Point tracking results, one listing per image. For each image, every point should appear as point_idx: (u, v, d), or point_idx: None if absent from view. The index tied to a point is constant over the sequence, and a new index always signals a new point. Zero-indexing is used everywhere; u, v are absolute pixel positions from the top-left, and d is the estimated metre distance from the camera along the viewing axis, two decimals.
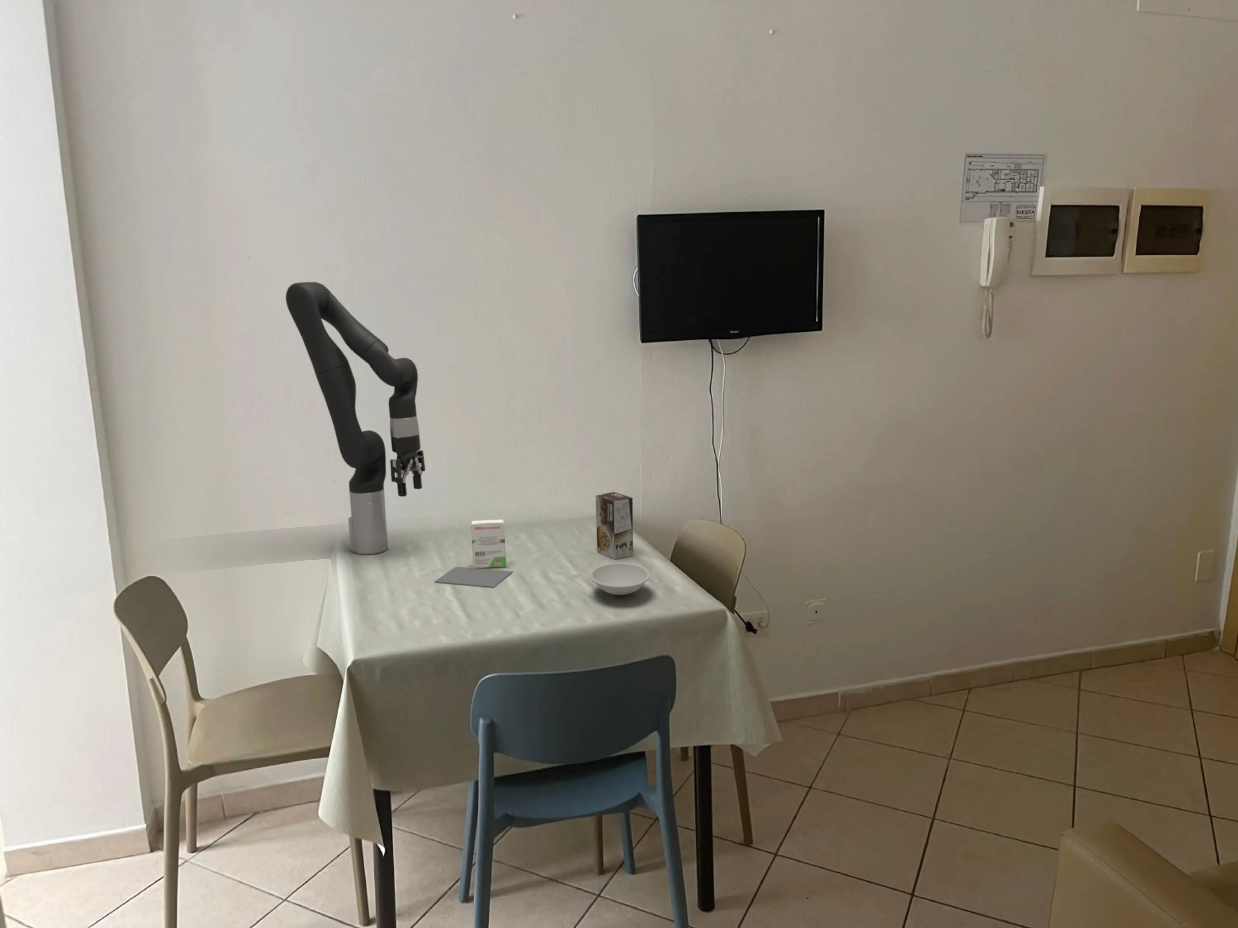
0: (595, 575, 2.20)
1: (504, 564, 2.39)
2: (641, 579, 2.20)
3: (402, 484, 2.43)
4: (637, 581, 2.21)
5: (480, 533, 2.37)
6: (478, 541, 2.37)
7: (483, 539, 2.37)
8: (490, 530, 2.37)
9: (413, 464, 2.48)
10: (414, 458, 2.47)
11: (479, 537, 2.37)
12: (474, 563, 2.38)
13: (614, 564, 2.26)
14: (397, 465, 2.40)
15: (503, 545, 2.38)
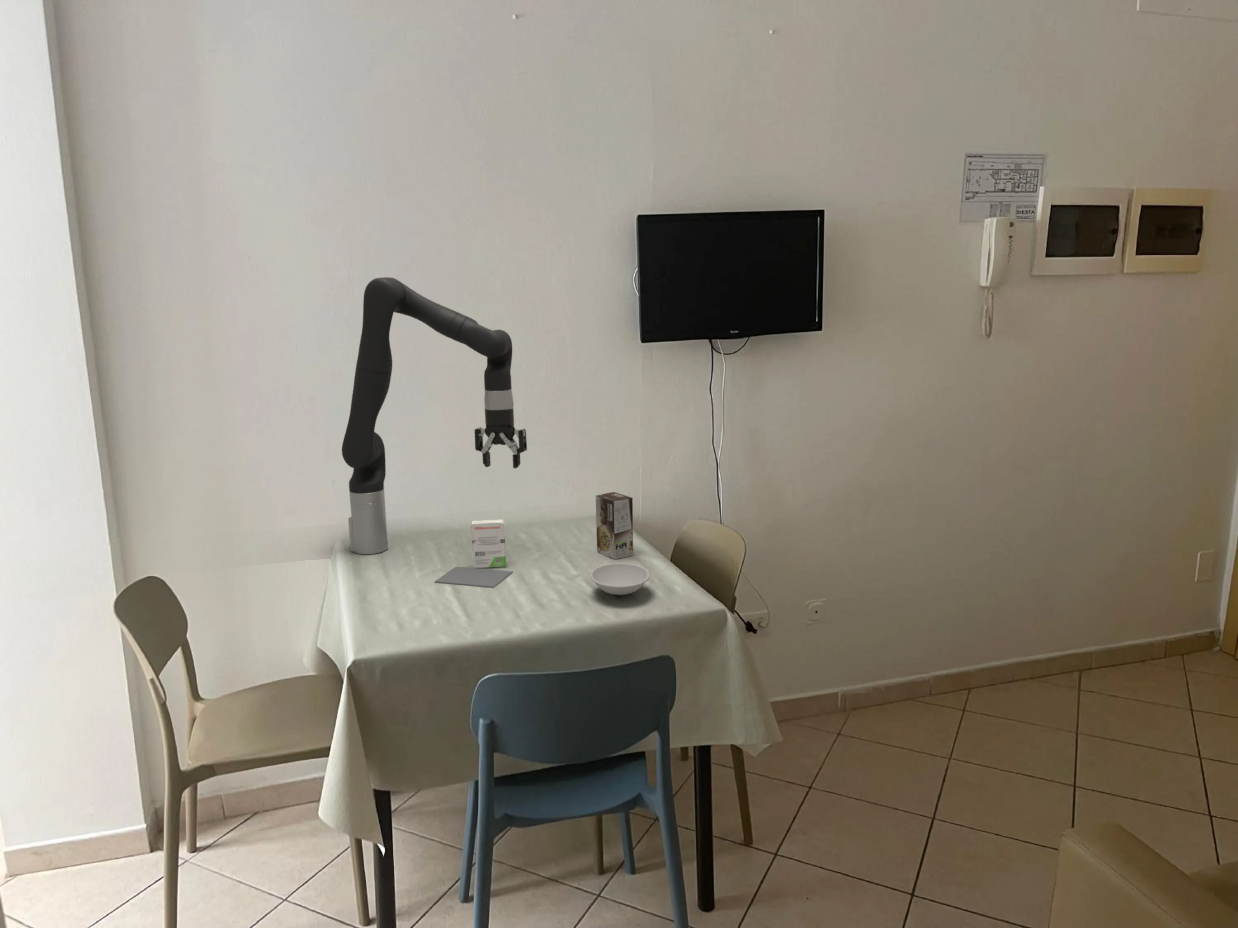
0: (595, 575, 2.20)
1: (504, 564, 2.39)
2: (641, 579, 2.20)
3: None
4: (637, 581, 2.21)
5: (480, 533, 2.37)
6: (478, 541, 2.37)
7: (483, 539, 2.37)
8: (490, 530, 2.37)
9: None
10: None
11: (479, 537, 2.37)
12: (474, 563, 2.38)
13: (614, 564, 2.26)
14: (525, 434, 2.43)
15: (503, 545, 2.38)
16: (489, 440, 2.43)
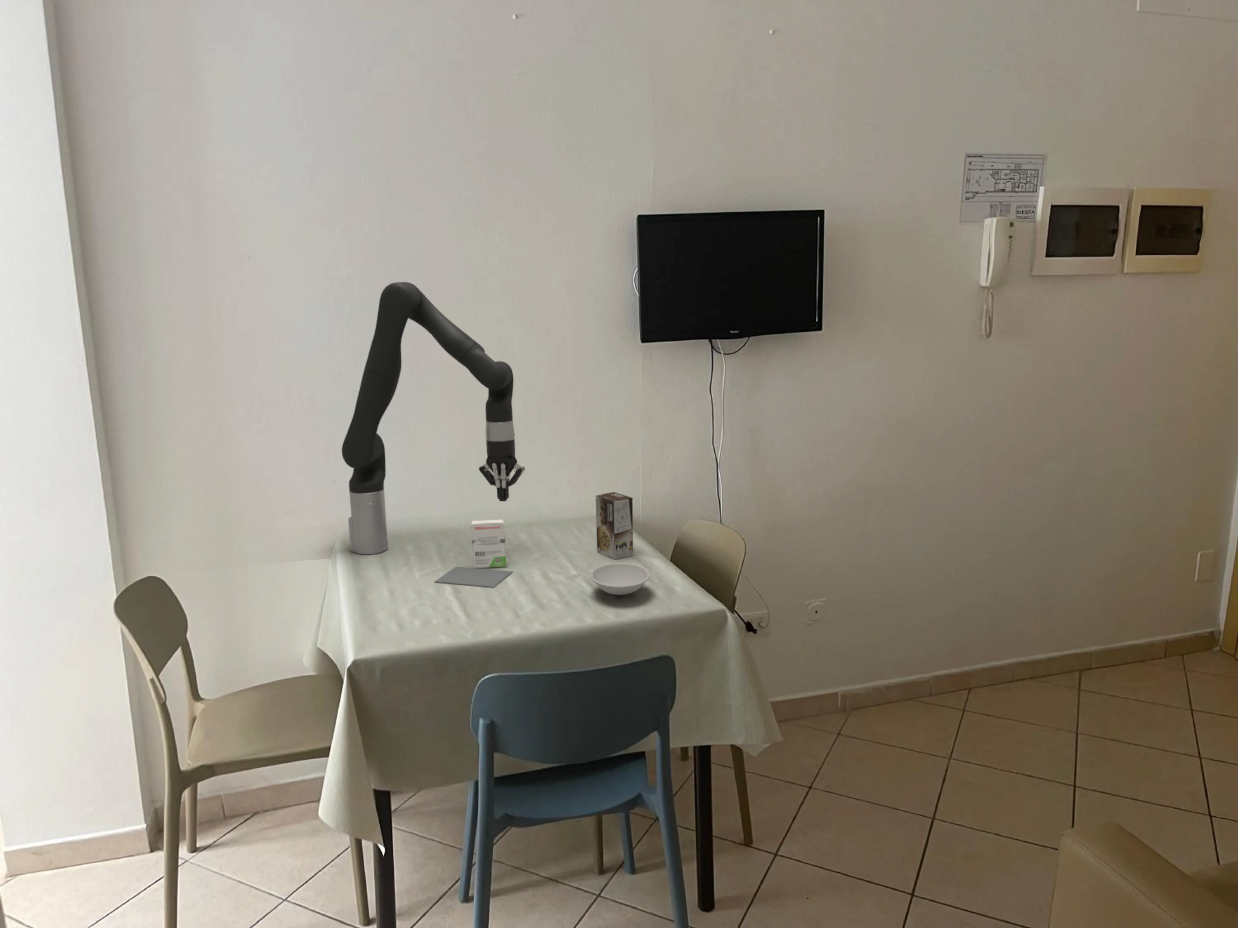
0: (595, 575, 2.20)
1: (504, 564, 2.39)
2: (641, 579, 2.20)
3: None
4: (637, 581, 2.21)
5: (480, 533, 2.37)
6: (478, 541, 2.37)
7: (483, 539, 2.37)
8: (490, 530, 2.37)
9: None
10: None
11: (479, 537, 2.37)
12: (474, 563, 2.38)
13: (614, 564, 2.26)
14: (522, 472, 2.45)
15: (503, 545, 2.38)
16: (495, 472, 2.45)
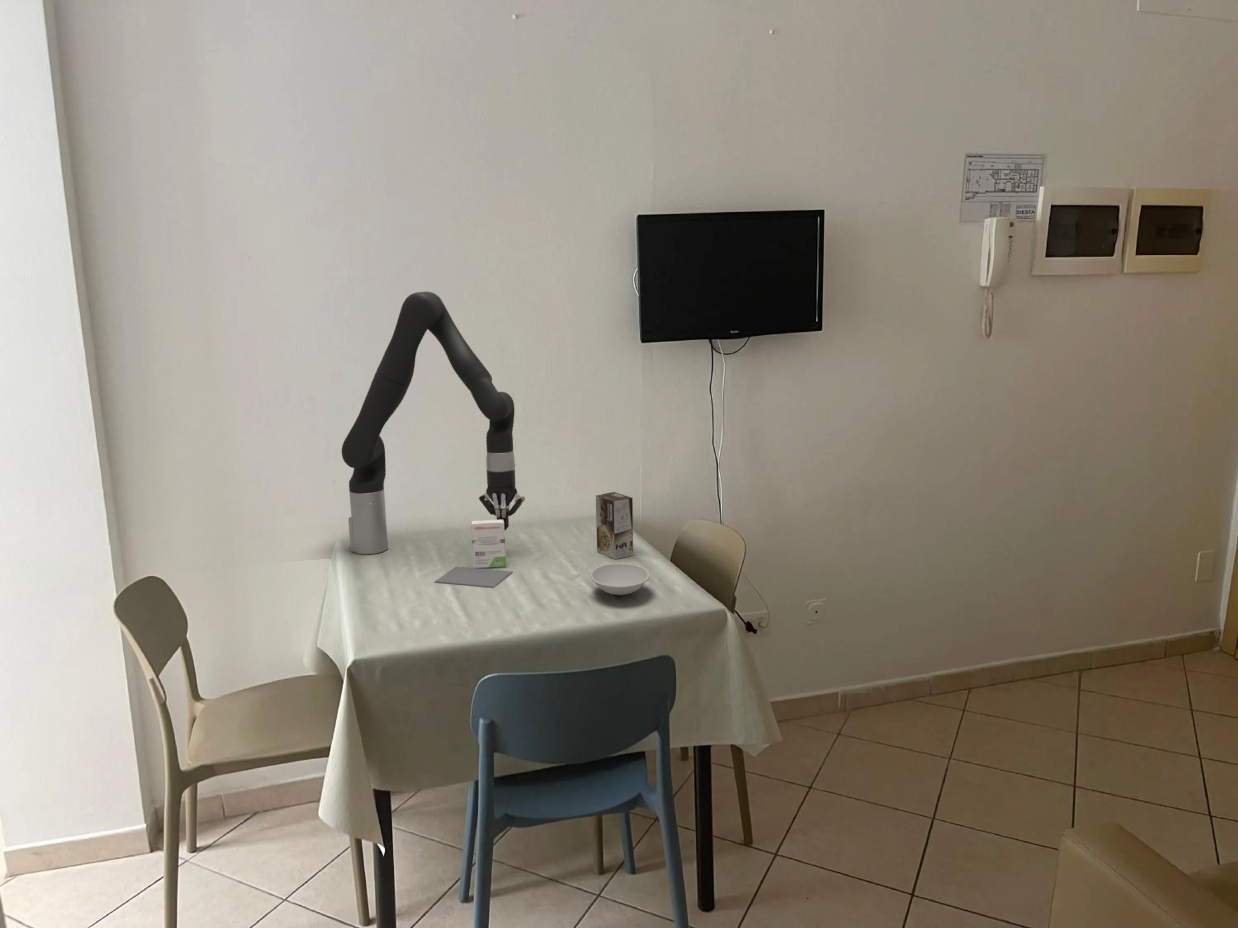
0: (595, 575, 2.20)
1: (504, 564, 2.39)
2: (641, 579, 2.20)
3: None
4: (637, 581, 2.21)
5: (480, 533, 2.37)
6: (478, 541, 2.37)
7: (483, 539, 2.37)
8: (490, 530, 2.37)
9: None
10: None
11: (479, 537, 2.37)
12: (474, 563, 2.38)
13: (614, 564, 2.26)
14: (522, 502, 2.47)
15: (503, 545, 2.38)
16: (495, 502, 2.46)
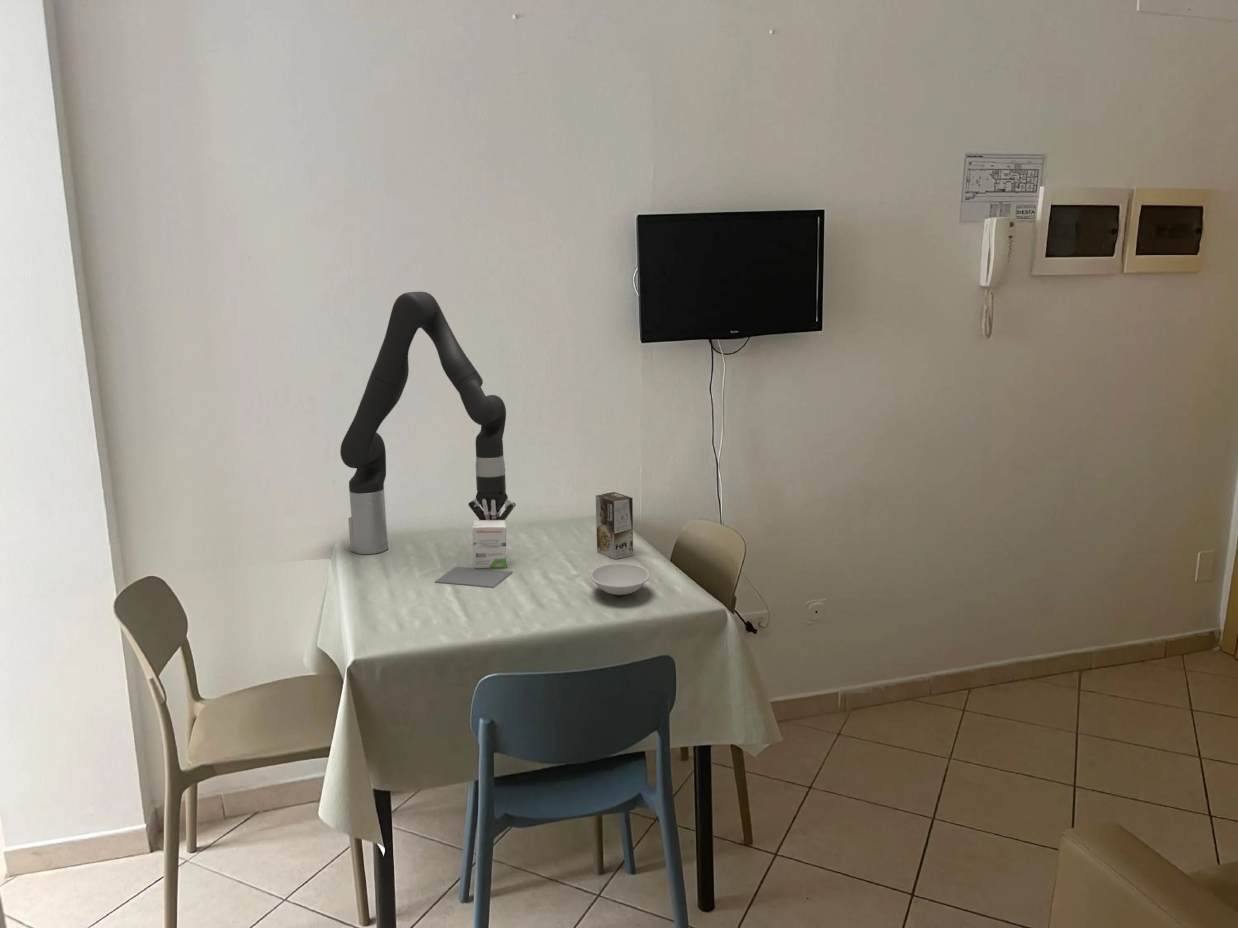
0: (595, 575, 2.20)
1: (504, 565, 2.39)
2: (641, 579, 2.20)
3: None
4: (637, 581, 2.21)
5: (481, 536, 2.35)
6: (479, 543, 2.36)
7: (484, 542, 2.36)
8: (492, 534, 2.35)
9: None
10: None
11: (480, 540, 2.35)
12: (474, 563, 2.38)
13: (614, 564, 2.26)
14: (512, 508, 2.40)
15: (504, 548, 2.37)
16: (485, 508, 2.39)
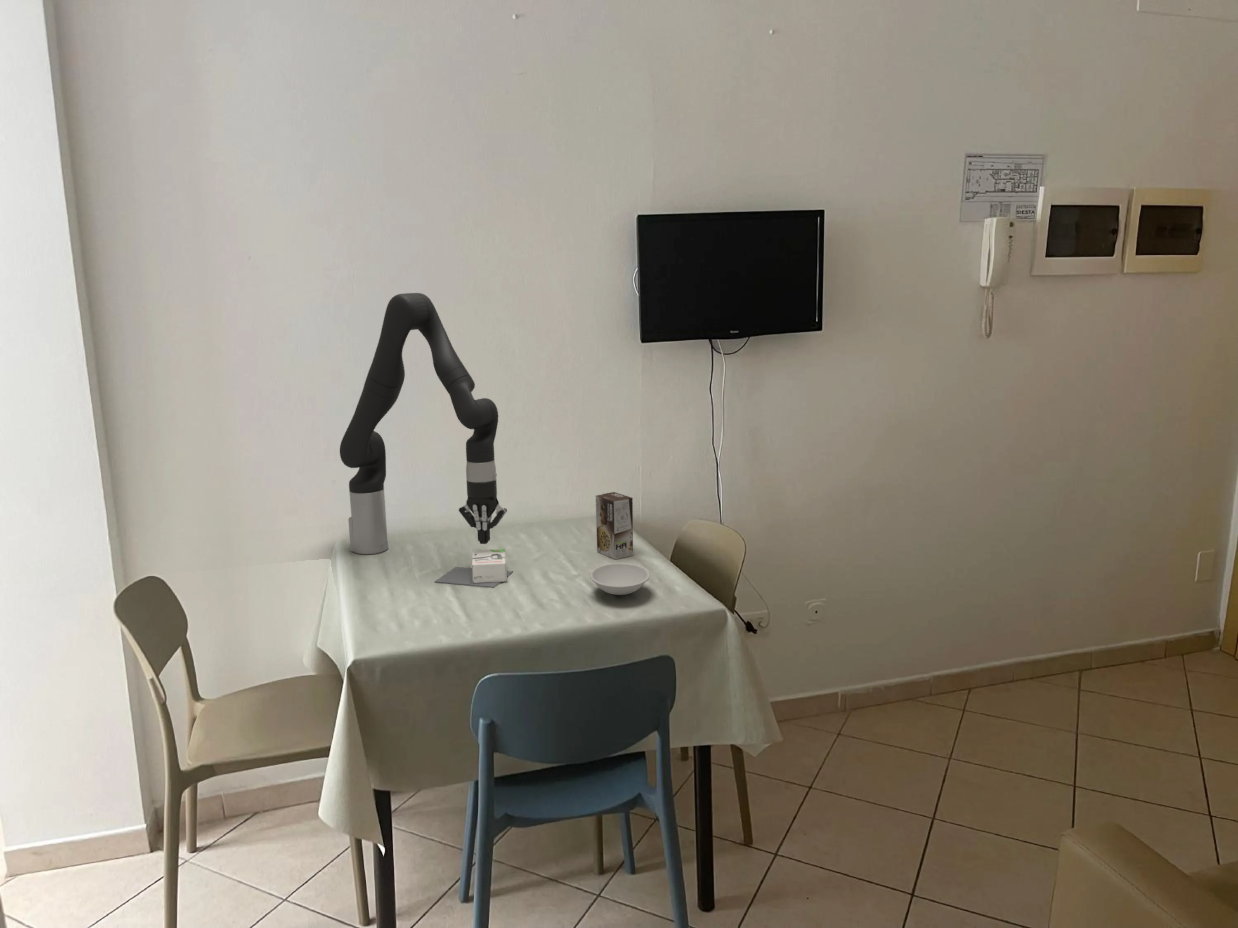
0: (595, 575, 2.20)
1: None
2: (641, 579, 2.20)
3: None
4: (637, 581, 2.21)
5: None
6: None
7: None
8: None
9: None
10: None
11: None
12: None
13: (614, 564, 2.26)
14: (504, 514, 2.35)
15: None
16: (476, 514, 2.34)
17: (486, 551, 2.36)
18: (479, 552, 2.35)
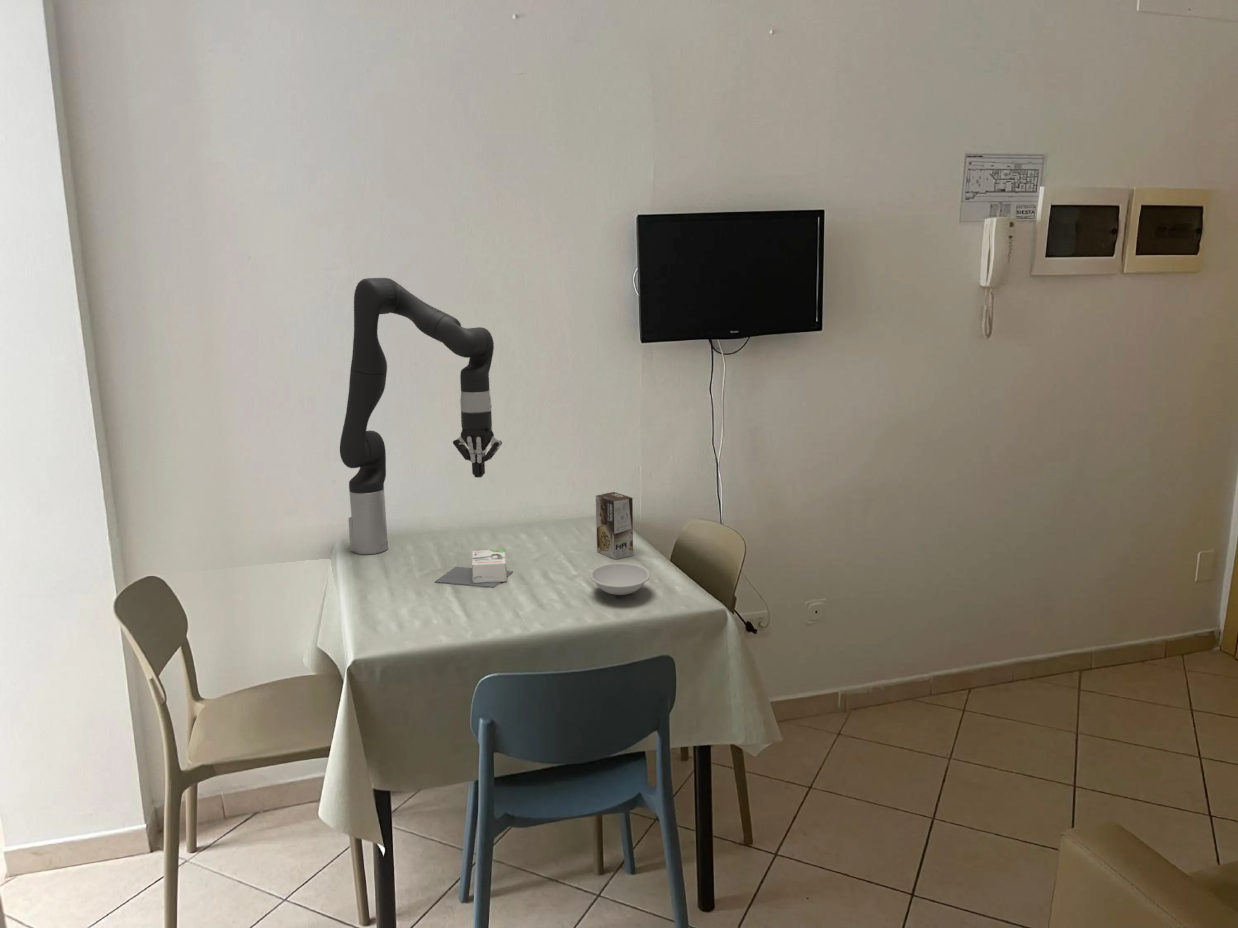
0: (595, 575, 2.20)
1: None
2: (641, 579, 2.20)
3: None
4: (637, 581, 2.21)
5: None
6: None
7: None
8: None
9: None
10: None
11: None
12: None
13: (614, 564, 2.26)
14: None
15: None
16: (470, 446, 2.29)
17: (486, 551, 2.36)
18: (479, 552, 2.35)
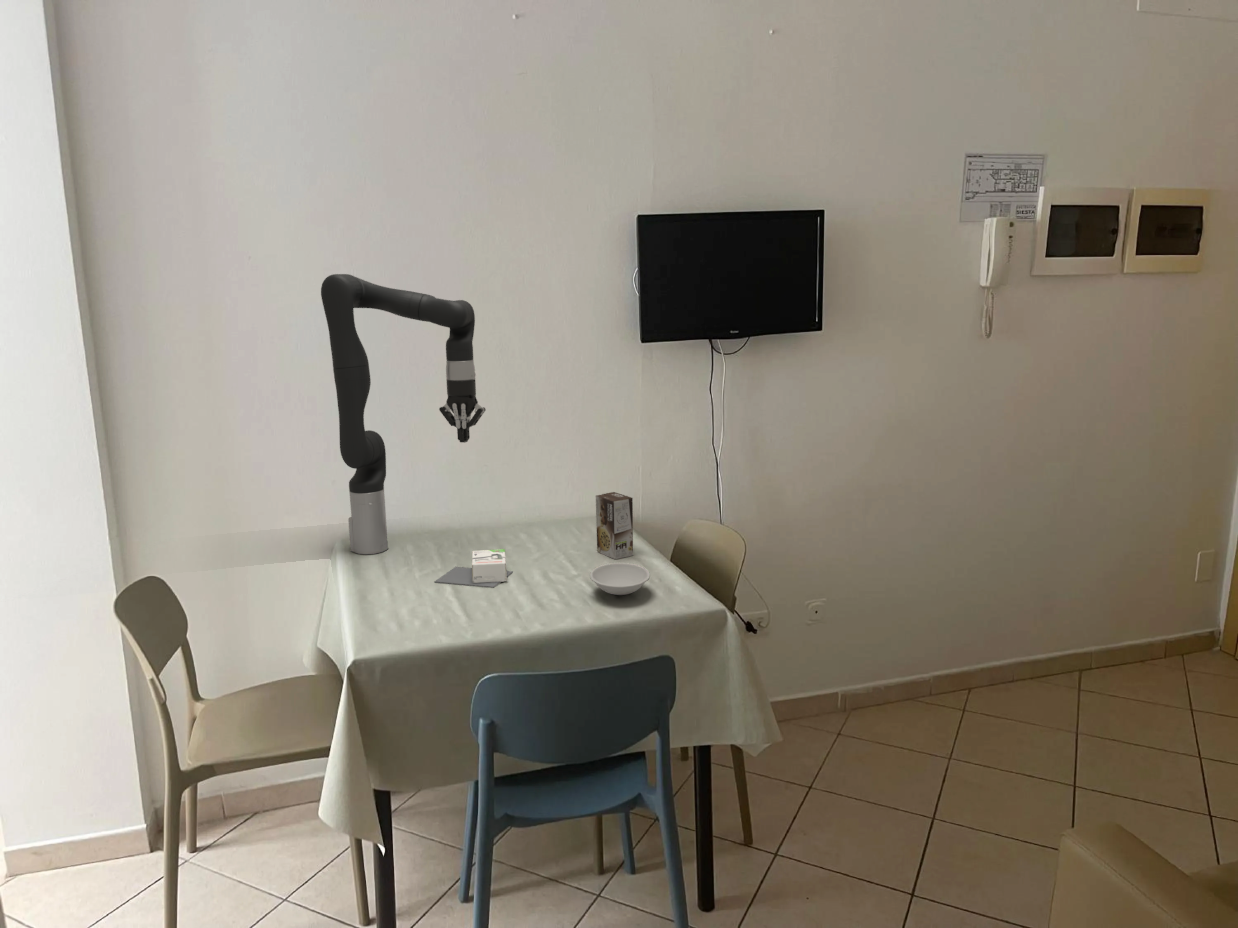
0: (595, 575, 2.20)
1: None
2: (641, 579, 2.20)
3: None
4: (637, 581, 2.21)
5: None
6: None
7: None
8: None
9: None
10: None
11: None
12: None
13: (614, 564, 2.26)
14: (482, 413, 2.43)
15: None
16: (455, 412, 2.43)
17: (486, 551, 2.36)
18: (479, 552, 2.35)
